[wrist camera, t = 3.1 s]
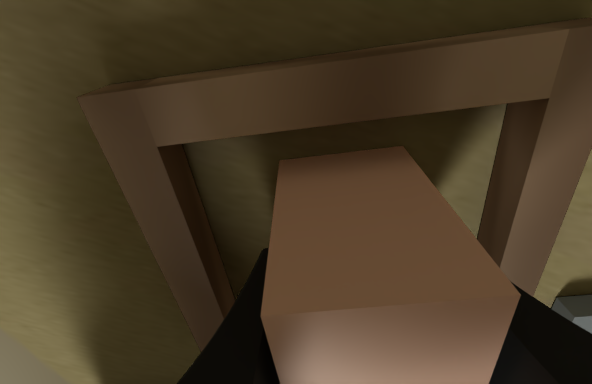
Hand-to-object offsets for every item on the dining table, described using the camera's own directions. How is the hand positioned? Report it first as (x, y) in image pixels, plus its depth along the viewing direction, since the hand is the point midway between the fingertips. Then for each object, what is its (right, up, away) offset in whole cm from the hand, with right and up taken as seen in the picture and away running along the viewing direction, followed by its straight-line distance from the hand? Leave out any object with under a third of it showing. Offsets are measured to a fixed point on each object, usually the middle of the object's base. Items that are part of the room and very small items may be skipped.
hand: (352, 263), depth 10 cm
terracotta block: (0, +1, +2) cm, 2 cm away
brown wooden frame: (0, +1, +2) cm, 2 cm away
